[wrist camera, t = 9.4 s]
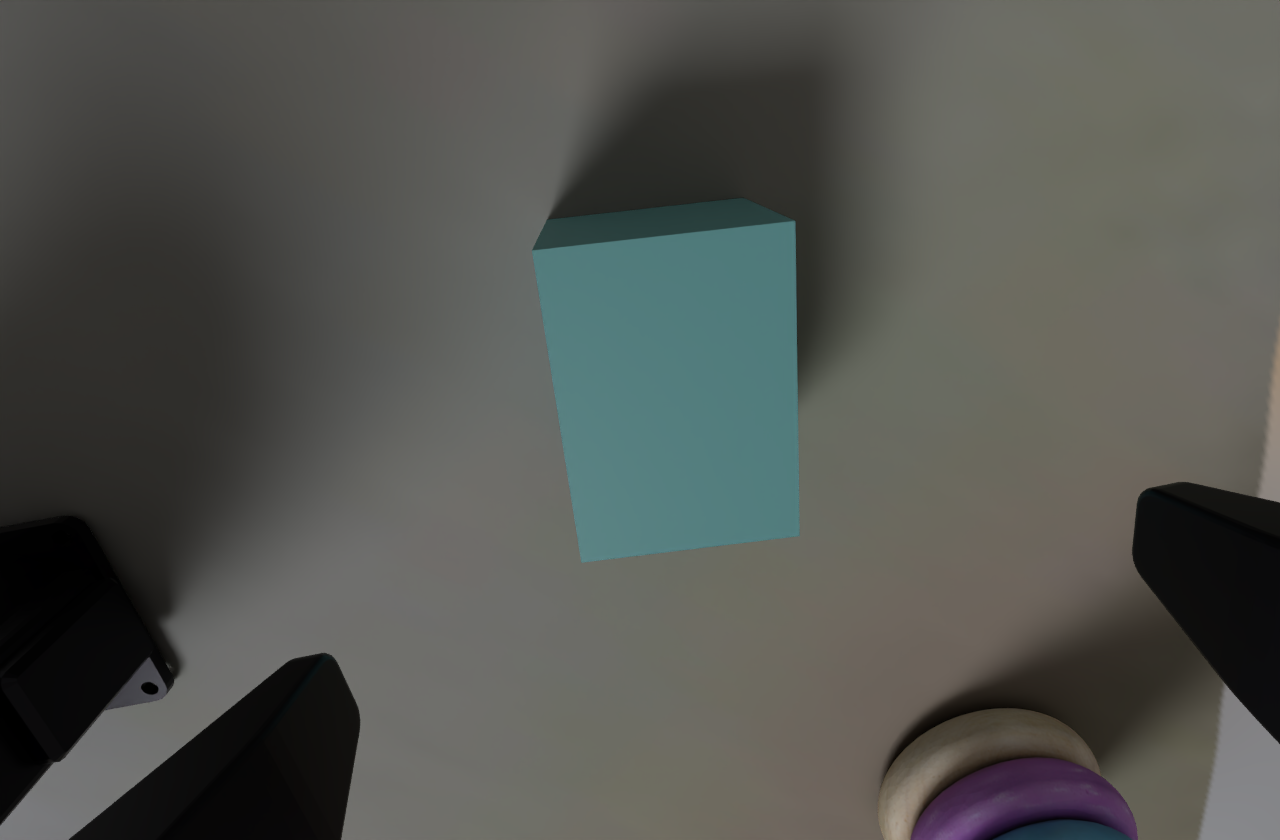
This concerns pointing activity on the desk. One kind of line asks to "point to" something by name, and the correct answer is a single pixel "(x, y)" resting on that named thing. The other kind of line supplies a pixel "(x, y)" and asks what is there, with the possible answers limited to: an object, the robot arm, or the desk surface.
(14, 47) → the desk surface
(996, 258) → the desk surface
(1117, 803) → the stacking toy
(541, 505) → the desk surface
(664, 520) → the teal brick
